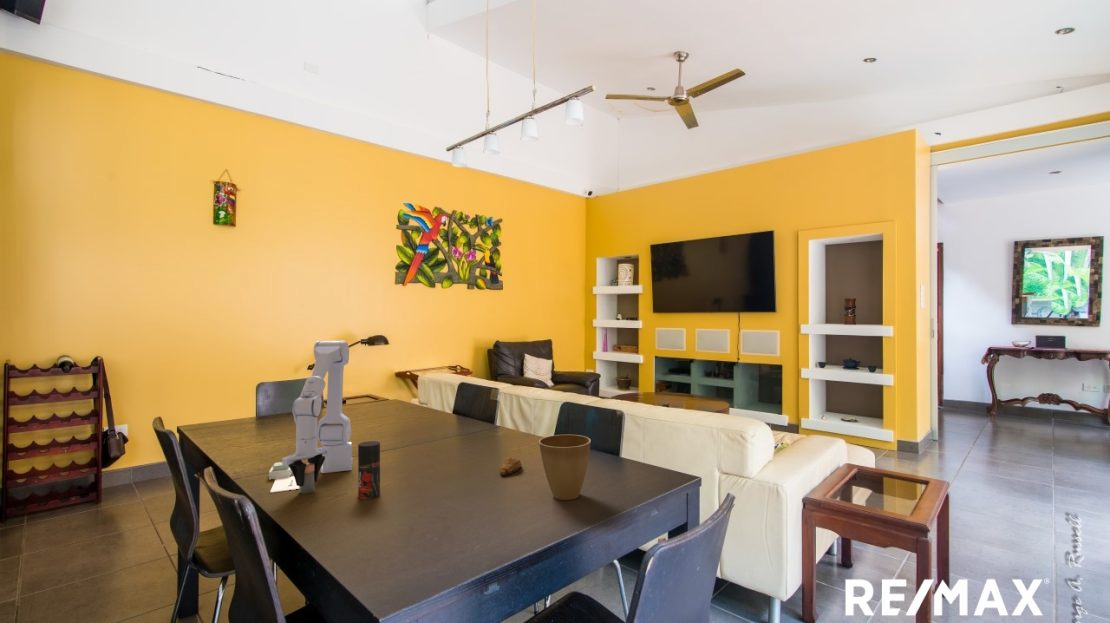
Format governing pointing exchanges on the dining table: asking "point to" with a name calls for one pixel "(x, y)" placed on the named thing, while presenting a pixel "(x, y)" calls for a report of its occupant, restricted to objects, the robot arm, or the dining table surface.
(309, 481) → the grey and orange block
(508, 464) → the croissant
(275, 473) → the button housing
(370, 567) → the dining table surface
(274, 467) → the button
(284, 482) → the paper sheet
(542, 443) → the plant pot
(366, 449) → the deodorant
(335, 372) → the robot arm
